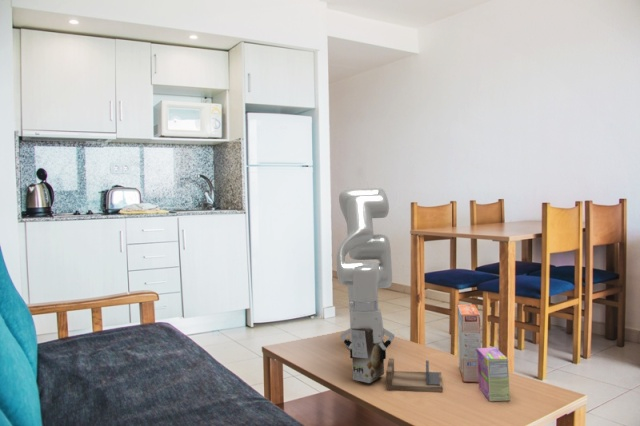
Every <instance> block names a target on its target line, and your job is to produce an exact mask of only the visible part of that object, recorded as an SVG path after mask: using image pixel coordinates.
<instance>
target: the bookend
mask: <svg viewBox="0 0 640 426" xmlns="http://www.w3.org/2000/svg"><path fill="white" fill-rule="evenodd" d="M429 364H430V362H429V360H425V372H426V385H433V386H440V380H439V372H440V371H439V372H437V371H430V365H429Z"/></svg>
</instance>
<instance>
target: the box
mask: <svg viewBox="0 0 640 426" xmlns="http://www.w3.org/2000/svg"><path fill="white" fill-rule="evenodd" d="M477 357H478V376H479V382H478V388H479V389H480V391H481V392H482V393H483V395H484V396H485V397H486V398H487V400H488V401H489V402H509V401H510V377H509V375H510V374H509V373H510V372H509V371H510V370H509V369H510V368H509V358H508V357H507V356H506V355H504V354H503V352H501V351H500V350H499V349H498V348H497V347H481V348H477Z"/></svg>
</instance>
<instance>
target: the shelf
mask: <svg viewBox="0 0 640 426" xmlns="http://www.w3.org/2000/svg"><path fill="white" fill-rule="evenodd" d="M385 377H386V381H385V382H386V391H398V392H426V393H427V392H428V393H430V392H431V393H443V392H444V391H443V377H442V372H440V371H439V380H440V386H433V385H426V371H406V370H405V371H403V370H402V371H401V370H395V359H394V358H388V362H387V366H386V371H385Z"/></svg>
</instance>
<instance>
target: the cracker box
mask: <svg viewBox="0 0 640 426" xmlns="http://www.w3.org/2000/svg"><path fill="white" fill-rule="evenodd" d="M457 321H458V325H457V326H458V329H457V330H458V359H459V360H458V361H459V362H458V365H459V371H460V375H461V376H460V377H461V380H462V382H463V383H464V382H465V383H479V376H478V357H477V348H482V344H481V343H482V342H481V341H482V338H481V314H480V312H479V310H478V308H477V306H476V304H458V305H457Z"/></svg>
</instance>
